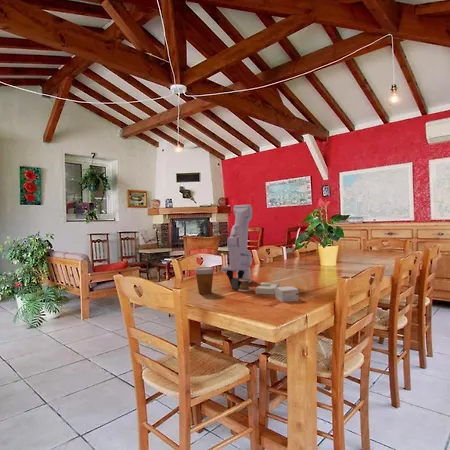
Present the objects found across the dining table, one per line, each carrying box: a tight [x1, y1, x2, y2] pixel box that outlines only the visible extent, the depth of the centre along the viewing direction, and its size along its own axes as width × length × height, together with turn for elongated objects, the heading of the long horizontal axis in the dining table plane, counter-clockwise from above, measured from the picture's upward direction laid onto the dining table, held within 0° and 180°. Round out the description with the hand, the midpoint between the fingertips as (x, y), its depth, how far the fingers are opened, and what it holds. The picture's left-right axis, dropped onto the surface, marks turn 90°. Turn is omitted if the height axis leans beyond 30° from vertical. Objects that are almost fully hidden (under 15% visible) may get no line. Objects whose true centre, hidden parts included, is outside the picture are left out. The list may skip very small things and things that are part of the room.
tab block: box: [230, 277, 241, 290], centre depth 172 cm, size 4×4×5 cm
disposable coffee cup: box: [194, 266, 215, 295], centre depth 163 cm, size 10×10×12 cm
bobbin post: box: [237, 278, 253, 292], centre depth 166 cm, size 7×7×6 cm
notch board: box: [254, 281, 281, 295], centre depth 163 cm, size 16×9×2 cm, turn 162°
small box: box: [274, 285, 300, 303], centre depth 145 cm, size 8×8×5 cm
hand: (235, 285), depth 172 cm, fingers closed on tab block, 3 cm apart
